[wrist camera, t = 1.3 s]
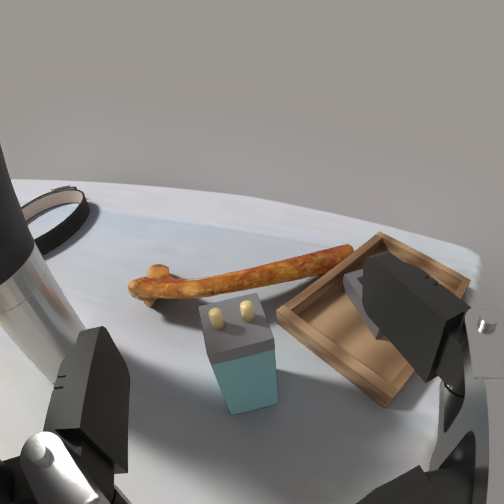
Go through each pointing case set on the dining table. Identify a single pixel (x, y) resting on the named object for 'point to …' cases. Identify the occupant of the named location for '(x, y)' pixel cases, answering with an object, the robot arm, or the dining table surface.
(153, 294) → the bone
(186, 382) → the dining table surface
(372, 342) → the walled box
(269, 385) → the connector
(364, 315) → the socket
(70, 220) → the belt
